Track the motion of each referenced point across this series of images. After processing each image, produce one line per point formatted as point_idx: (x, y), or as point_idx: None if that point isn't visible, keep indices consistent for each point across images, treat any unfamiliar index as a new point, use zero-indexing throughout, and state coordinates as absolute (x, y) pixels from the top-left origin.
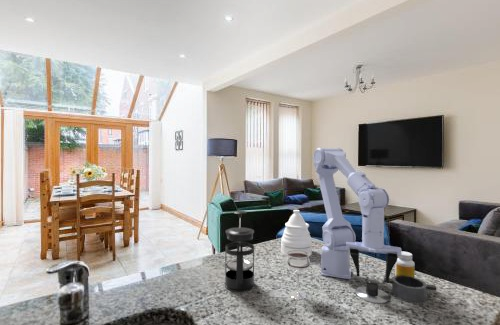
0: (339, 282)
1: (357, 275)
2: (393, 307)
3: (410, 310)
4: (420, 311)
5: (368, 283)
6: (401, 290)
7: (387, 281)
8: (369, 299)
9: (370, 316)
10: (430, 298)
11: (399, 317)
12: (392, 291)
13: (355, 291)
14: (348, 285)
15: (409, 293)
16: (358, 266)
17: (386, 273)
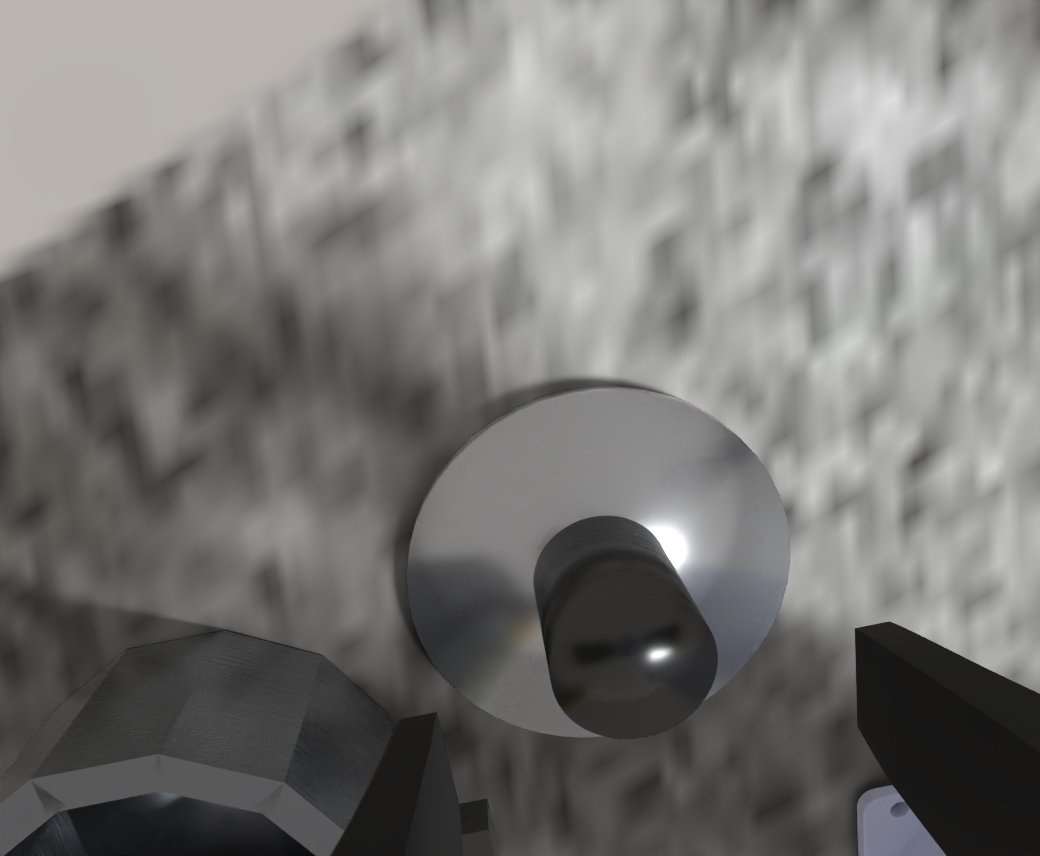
0: None
1: (891, 627)
2: (337, 411)
3: (154, 447)
4: (52, 487)
5: (680, 601)
6: (256, 718)
7: None
8: (613, 413)
9: (558, 11)
10: None
11: (238, 197)
12: None
13: (786, 523)
14: None
15: (157, 703)
16: (1009, 721)
17: (428, 813)
